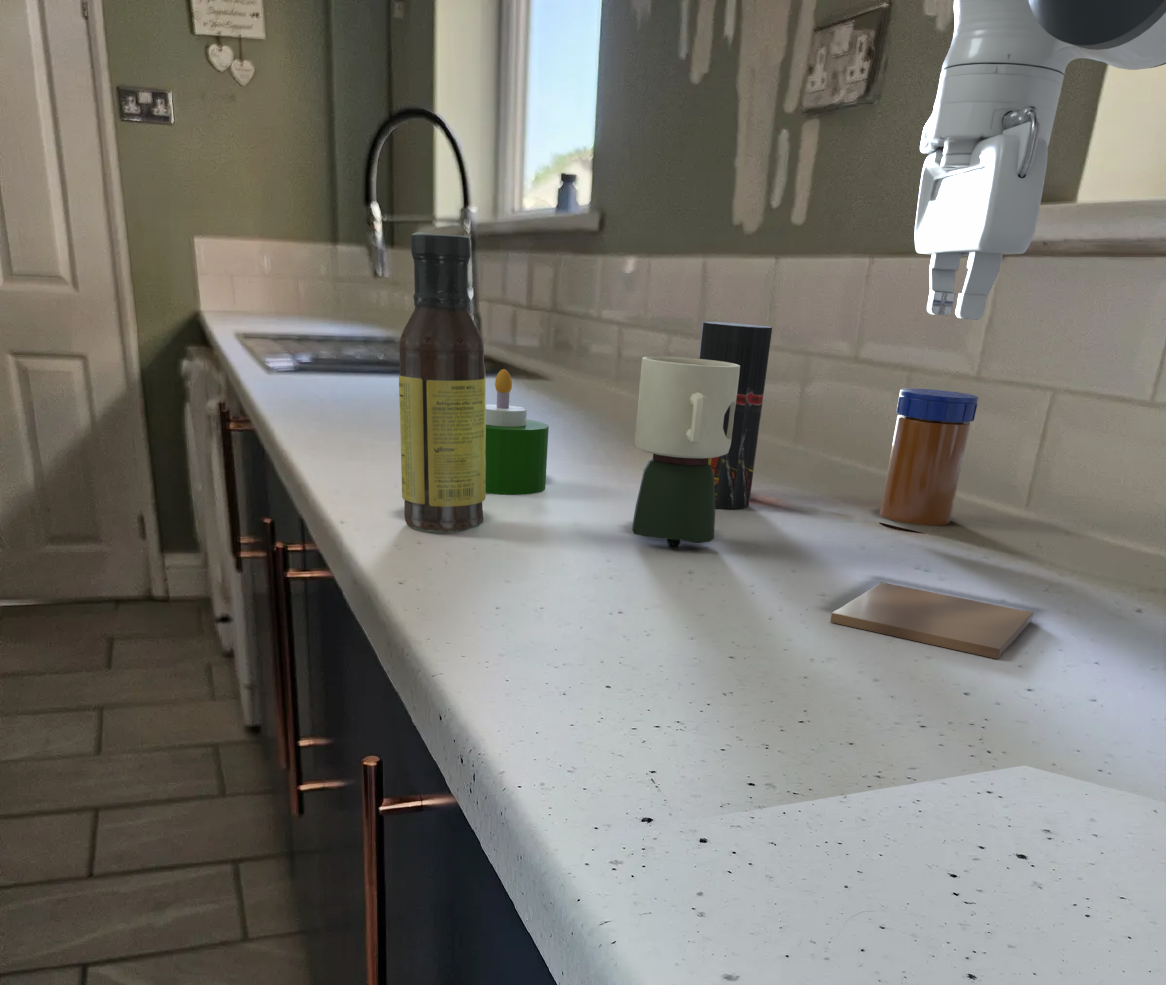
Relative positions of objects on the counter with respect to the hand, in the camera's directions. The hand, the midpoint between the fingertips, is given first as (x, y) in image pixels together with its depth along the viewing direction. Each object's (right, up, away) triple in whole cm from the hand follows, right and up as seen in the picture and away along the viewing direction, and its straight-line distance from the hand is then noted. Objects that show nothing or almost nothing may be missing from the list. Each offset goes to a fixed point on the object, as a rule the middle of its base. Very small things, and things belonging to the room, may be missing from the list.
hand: (952, 316), depth 89 cm
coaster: (-8, -28, -20) cm, 35 cm away
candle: (-38, -11, +11) cm, 41 cm away
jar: (-1, -15, +7) cm, 17 cm away
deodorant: (-18, -12, +11) cm, 24 cm away
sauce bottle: (-41, -18, -6) cm, 45 cm away
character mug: (-23, -20, -5) cm, 31 cm away
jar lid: (0, -6, +3) cm, 6 cm away
